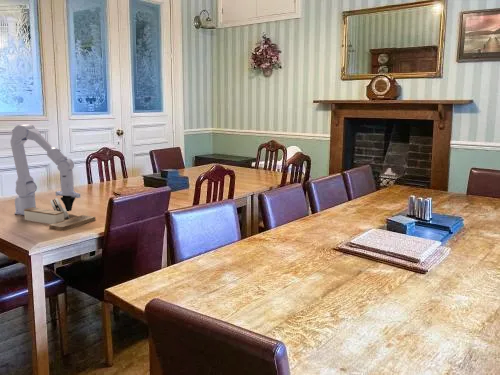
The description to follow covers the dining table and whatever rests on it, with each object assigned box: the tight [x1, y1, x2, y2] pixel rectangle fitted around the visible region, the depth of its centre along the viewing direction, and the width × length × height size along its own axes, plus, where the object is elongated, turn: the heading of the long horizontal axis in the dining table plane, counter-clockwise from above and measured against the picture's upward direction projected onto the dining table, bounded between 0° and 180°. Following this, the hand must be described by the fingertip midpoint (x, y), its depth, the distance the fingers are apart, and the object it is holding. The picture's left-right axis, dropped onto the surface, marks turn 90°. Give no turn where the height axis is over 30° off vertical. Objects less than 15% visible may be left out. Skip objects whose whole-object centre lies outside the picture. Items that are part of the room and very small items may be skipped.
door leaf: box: [48, 214, 96, 231], centre depth 214 cm, size 8×20×2 cm, turn 155°
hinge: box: [49, 197, 71, 219], centre depth 227 cm, size 17×5×10 cm, turn 27°
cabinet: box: [23, 207, 65, 225], centre depth 218 cm, size 20×5×5 cm, turn 65°
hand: (69, 210), depth 232 cm, fingers closed
